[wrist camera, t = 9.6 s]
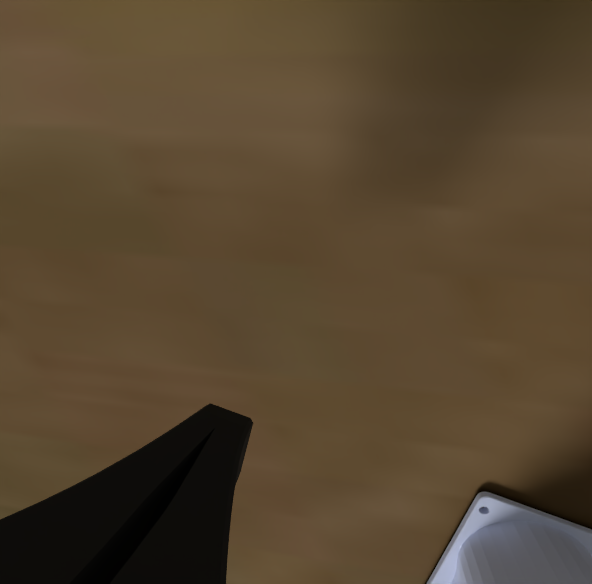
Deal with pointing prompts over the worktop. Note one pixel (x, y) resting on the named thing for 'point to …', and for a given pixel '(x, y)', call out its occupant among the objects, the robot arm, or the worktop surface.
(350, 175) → the worktop surface
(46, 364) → the worktop surface
